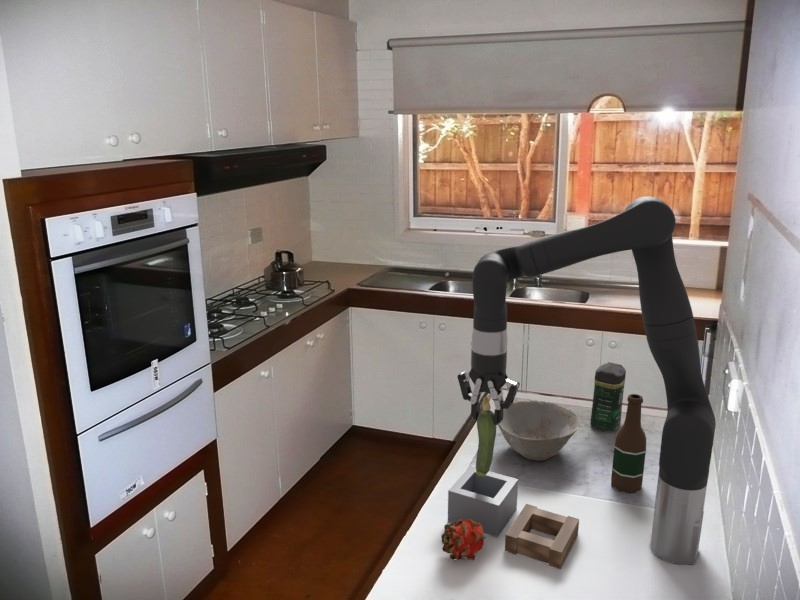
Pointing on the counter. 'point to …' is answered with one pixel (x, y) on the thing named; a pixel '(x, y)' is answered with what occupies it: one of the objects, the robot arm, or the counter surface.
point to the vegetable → (485, 438)
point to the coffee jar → (608, 397)
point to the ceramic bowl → (538, 428)
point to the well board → (540, 547)
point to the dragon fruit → (463, 539)
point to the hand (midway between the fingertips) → (486, 420)
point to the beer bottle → (629, 450)
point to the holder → (483, 500)
